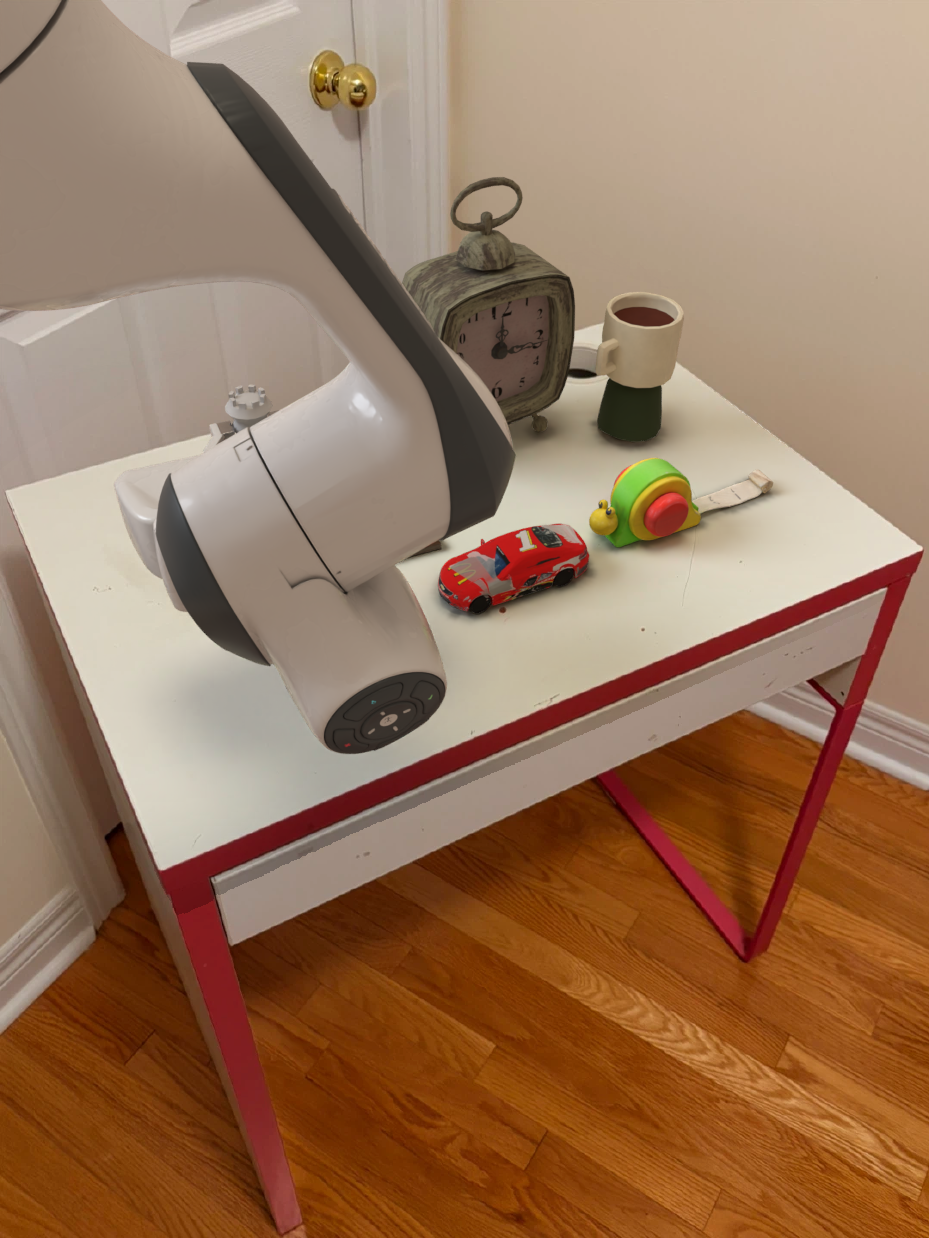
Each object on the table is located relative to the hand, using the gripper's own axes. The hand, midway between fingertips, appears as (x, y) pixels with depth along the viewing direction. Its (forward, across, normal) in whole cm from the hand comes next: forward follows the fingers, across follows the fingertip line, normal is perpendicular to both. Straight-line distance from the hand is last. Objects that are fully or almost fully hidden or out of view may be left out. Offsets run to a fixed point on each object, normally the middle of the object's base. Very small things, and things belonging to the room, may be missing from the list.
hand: (249, 424), depth 74 cm
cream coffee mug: (+11, -39, +17) cm, 44 cm away
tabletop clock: (+16, -25, +17) cm, 34 cm away
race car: (-5, -19, +17) cm, 26 cm away
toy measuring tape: (-3, -37, +17) cm, 41 cm away
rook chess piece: (-1, 0, +5) cm, 5 cm away
